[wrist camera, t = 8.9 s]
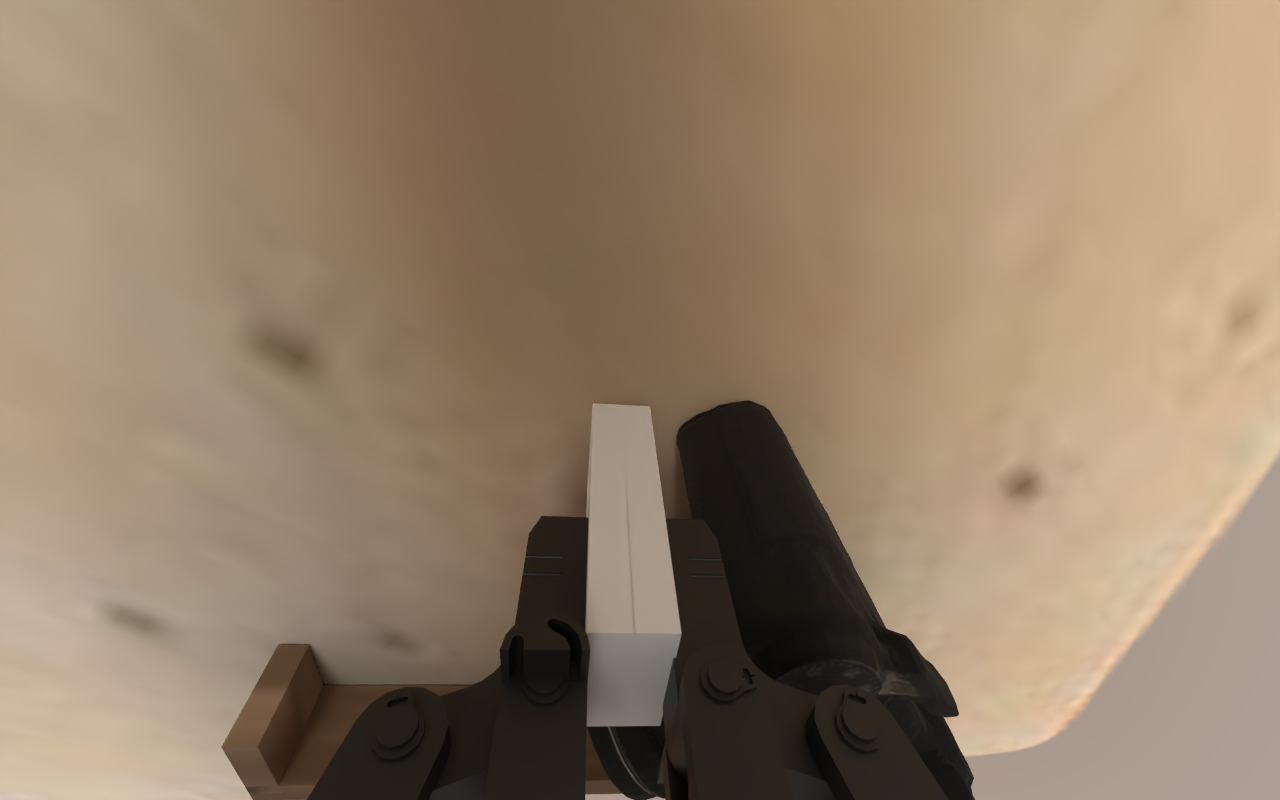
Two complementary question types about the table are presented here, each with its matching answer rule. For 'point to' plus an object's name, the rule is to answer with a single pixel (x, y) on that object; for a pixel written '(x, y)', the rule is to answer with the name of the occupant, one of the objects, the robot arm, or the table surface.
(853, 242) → the table surface
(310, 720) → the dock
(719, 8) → the table surface
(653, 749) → the camera
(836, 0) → the table surface
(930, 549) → the table surface
